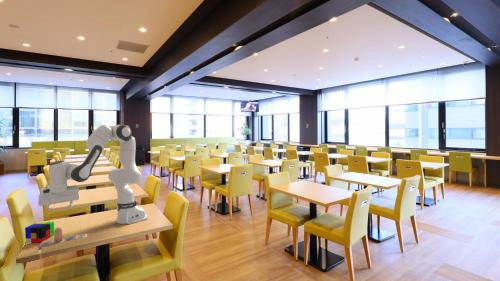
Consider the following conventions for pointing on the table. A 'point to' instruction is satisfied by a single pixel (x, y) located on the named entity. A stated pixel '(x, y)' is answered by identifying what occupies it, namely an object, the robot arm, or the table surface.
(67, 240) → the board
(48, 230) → the puzzle toy
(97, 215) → the table surface
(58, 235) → the pawn
